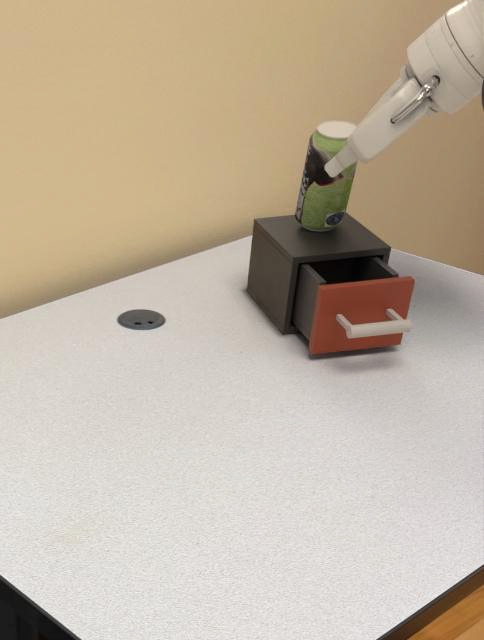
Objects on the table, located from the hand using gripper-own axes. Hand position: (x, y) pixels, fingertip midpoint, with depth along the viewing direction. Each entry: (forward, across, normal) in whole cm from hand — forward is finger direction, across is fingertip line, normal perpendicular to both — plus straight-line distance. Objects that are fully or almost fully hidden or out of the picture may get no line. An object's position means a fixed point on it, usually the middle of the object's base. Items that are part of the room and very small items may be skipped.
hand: (337, 160), depth 107 cm
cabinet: (+13, -1, -12) cm, 18 cm away
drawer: (+8, -10, -16) cm, 20 cm away
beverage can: (+7, 0, -5) cm, 8 cm away
